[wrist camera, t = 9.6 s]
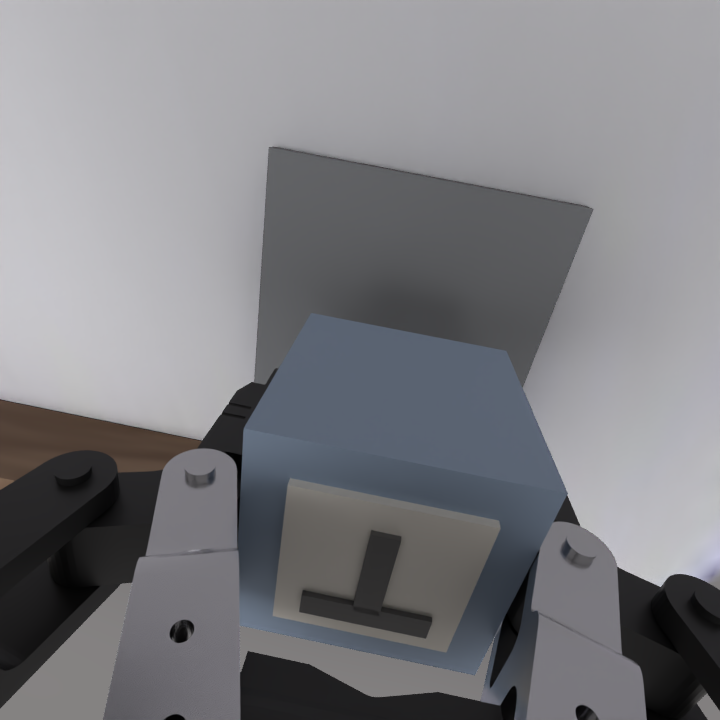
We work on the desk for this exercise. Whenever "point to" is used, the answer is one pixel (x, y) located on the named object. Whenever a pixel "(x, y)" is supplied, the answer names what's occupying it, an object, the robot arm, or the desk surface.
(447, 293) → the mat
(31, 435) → the bar
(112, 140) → the desk surface
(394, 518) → the letter cube
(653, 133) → the desk surface
